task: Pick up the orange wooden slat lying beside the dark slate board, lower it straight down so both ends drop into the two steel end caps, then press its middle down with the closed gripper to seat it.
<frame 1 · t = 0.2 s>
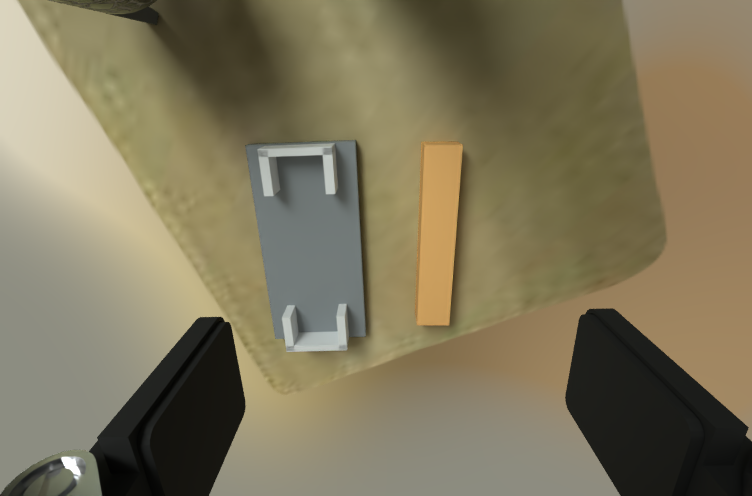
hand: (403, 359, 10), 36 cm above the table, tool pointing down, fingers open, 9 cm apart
cap board: (313, 245, 48), on the table
slat: (433, 233, 48), on the table
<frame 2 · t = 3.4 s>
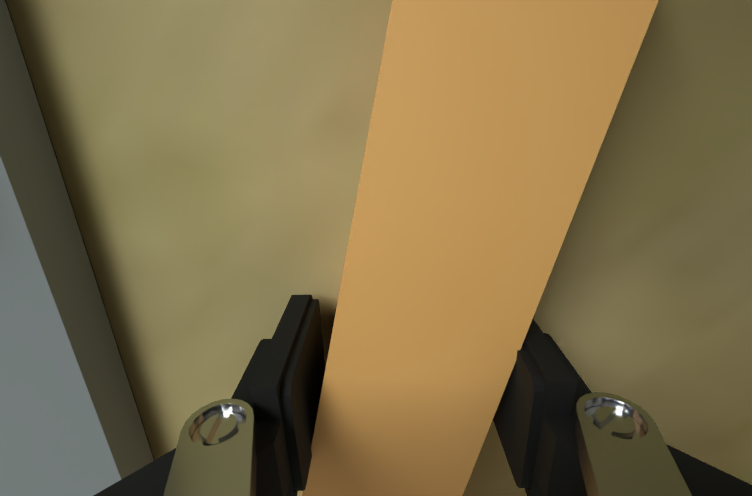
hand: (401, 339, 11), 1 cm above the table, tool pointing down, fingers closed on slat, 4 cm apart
slat: (400, 321, 12), on the table, touching gripper
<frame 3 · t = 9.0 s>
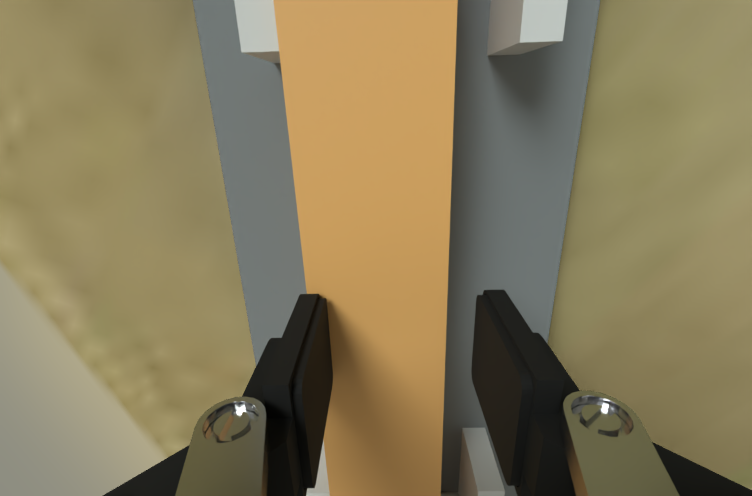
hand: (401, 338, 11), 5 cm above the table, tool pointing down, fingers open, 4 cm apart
cap board: (396, 262, 16), on the table
slat: (379, 286, 15), point 1 cm above the table, touching cap board, gripper
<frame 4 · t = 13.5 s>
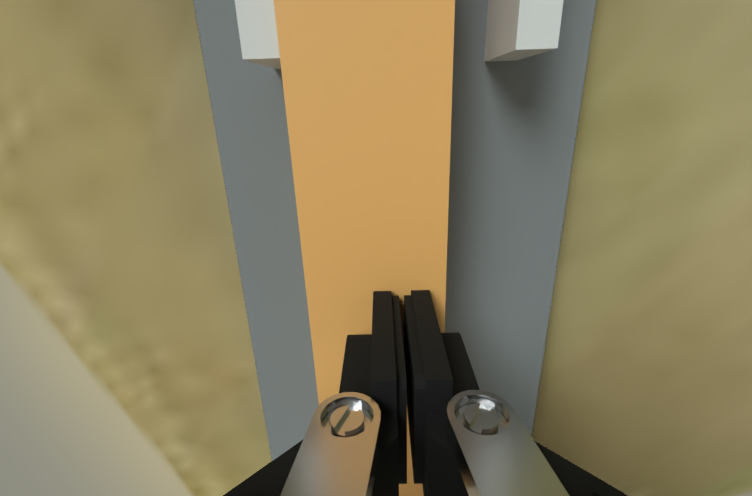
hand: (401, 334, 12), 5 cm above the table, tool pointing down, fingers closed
cap board: (395, 265, 16), on the table
slat: (378, 289, 15), point 1 cm above the table, touching cap board, gripper
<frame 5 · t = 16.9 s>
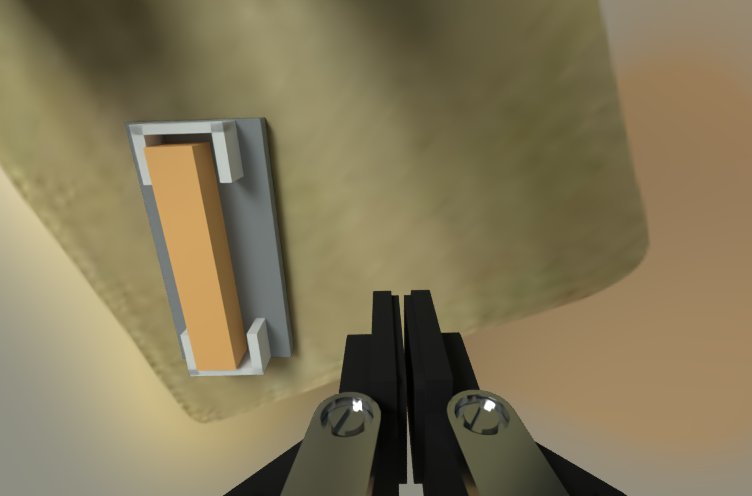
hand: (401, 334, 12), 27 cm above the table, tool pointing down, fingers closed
cap board: (222, 247, 40), on the table
slat: (210, 256, 38), point 1 cm above the table, touching cap board
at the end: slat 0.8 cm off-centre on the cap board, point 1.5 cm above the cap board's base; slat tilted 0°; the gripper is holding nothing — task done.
